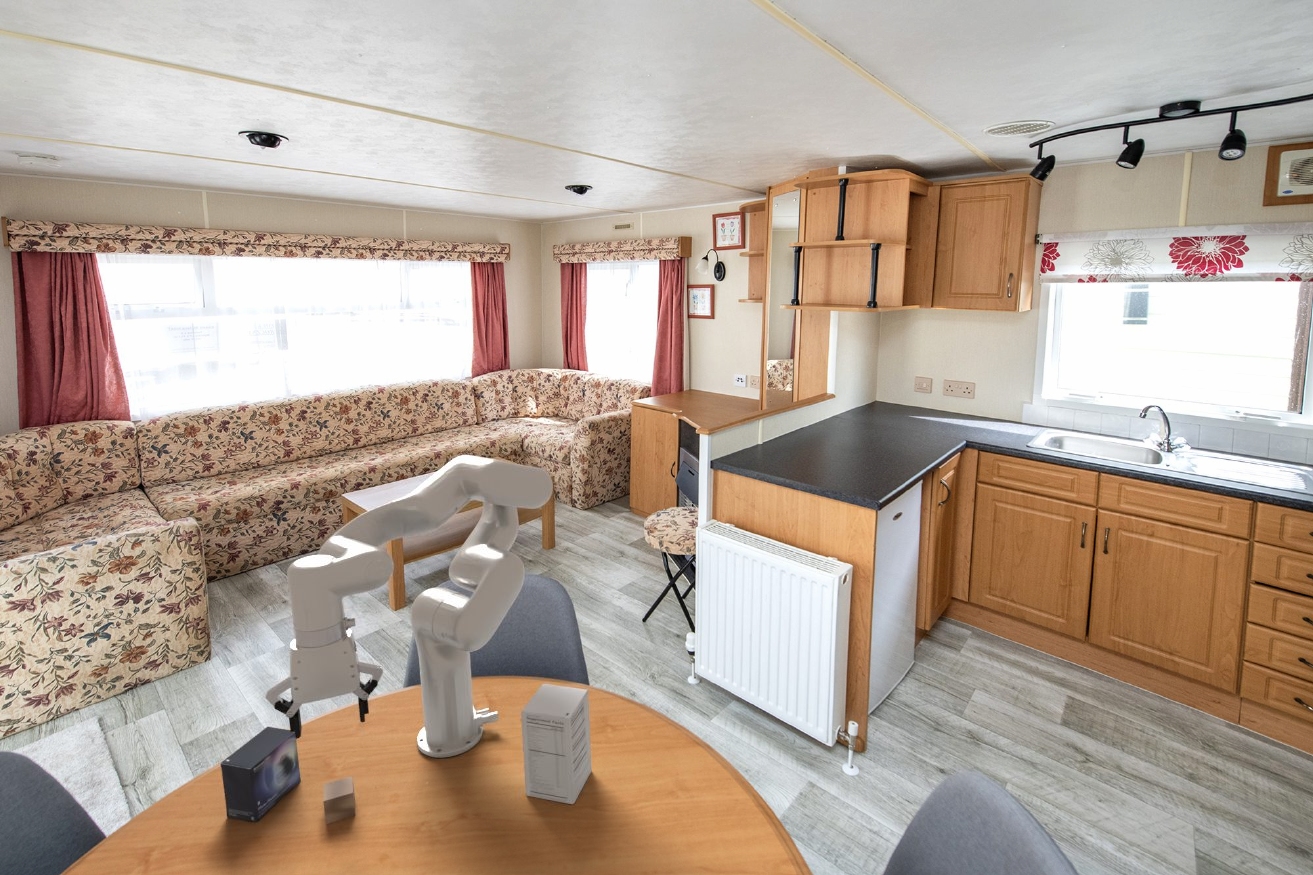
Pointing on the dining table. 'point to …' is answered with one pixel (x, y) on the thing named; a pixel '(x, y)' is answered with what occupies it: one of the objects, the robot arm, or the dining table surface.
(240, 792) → the small box
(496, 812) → the dining table surface
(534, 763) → the supplement box
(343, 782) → the brown wooden cube
